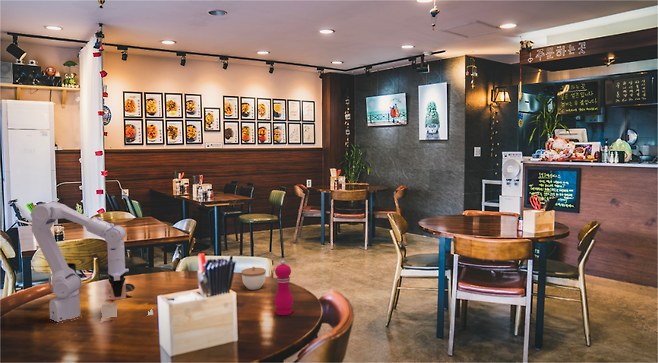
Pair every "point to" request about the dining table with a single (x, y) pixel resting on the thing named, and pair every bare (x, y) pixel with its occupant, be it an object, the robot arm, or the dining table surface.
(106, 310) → the cream base brick
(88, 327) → the dining table surface
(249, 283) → the lidded jar
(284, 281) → the pepper mill
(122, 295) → the pink cube
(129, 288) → the squirrel figurine
